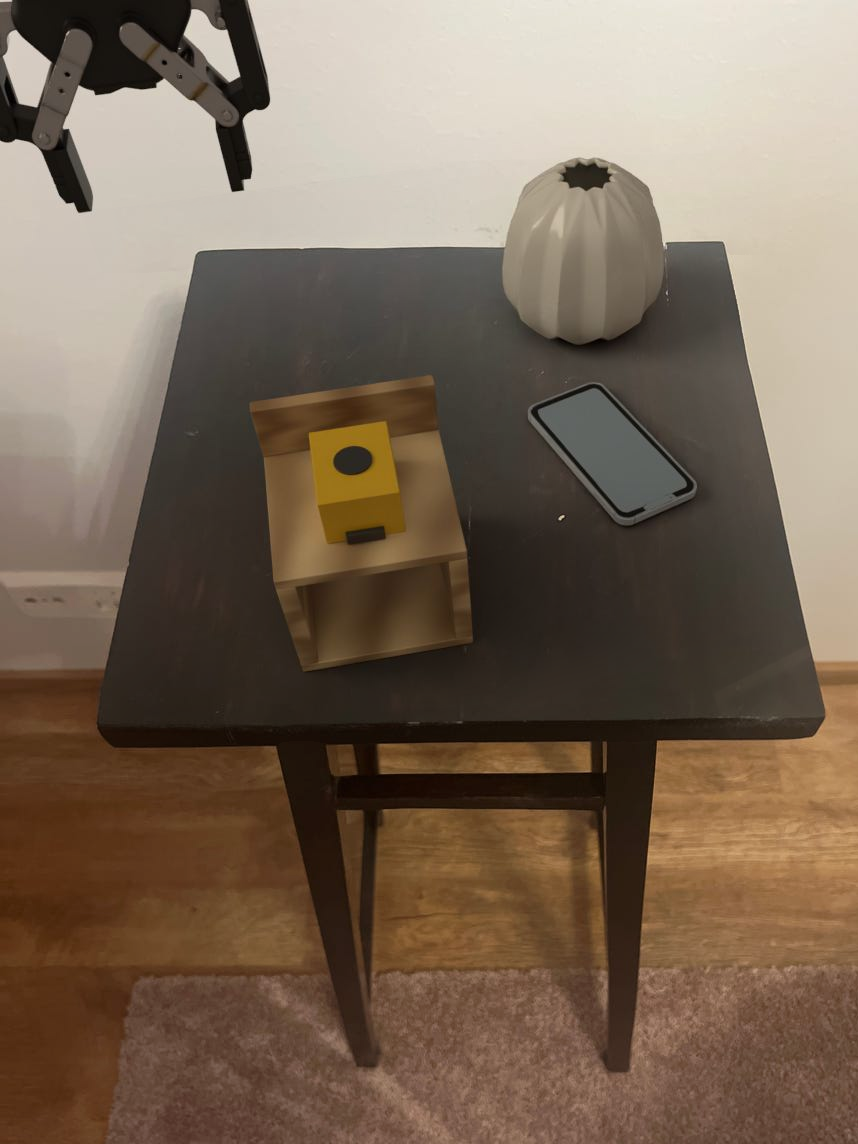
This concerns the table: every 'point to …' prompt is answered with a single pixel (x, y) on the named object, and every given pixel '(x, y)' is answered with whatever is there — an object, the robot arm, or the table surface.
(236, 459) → the table surface
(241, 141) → the robot arm
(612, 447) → the smartphone
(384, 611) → the shelf
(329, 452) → the measuring tape
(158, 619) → the table surface
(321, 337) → the table surface
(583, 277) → the vase
